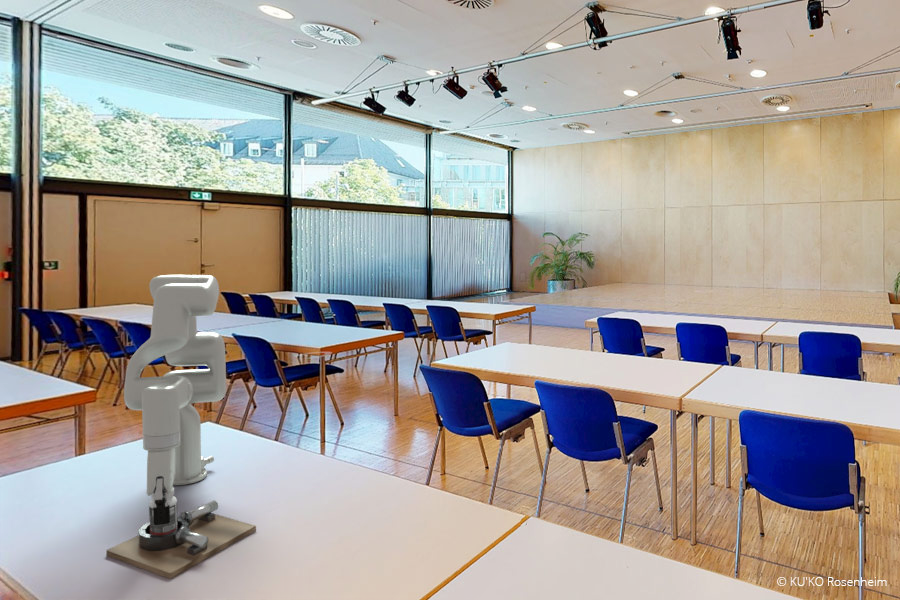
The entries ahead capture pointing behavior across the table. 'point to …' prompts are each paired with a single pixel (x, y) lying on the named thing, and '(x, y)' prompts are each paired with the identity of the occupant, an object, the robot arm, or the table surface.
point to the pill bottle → (173, 516)
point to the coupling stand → (182, 542)
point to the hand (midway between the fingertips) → (163, 516)
